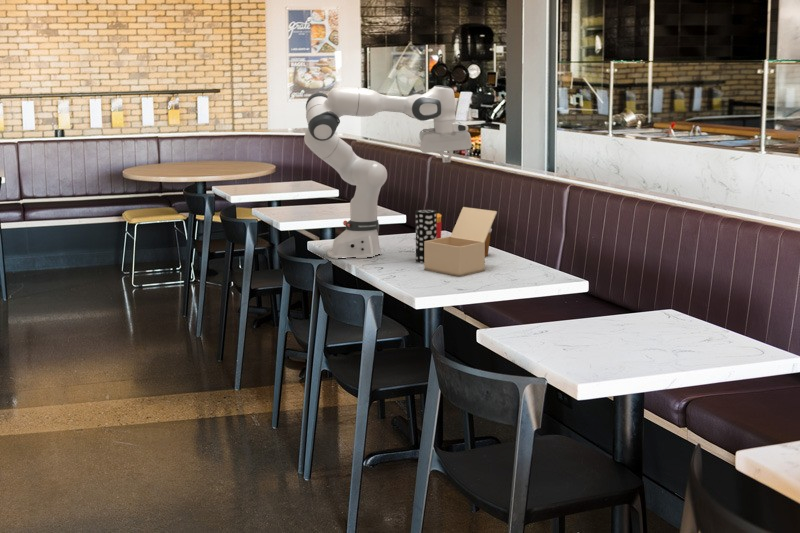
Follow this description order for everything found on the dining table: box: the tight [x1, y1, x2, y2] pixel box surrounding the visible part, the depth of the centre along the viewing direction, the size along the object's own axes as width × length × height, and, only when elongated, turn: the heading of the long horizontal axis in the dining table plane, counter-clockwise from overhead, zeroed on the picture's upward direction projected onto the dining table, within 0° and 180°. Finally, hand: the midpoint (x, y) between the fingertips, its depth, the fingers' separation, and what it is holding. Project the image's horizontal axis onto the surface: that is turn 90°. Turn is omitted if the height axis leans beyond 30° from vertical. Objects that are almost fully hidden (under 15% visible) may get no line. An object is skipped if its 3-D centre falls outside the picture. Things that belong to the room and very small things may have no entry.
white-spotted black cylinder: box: [415, 209, 438, 264], centre depth 383 cm, size 8×8×20 cm
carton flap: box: [450, 206, 498, 242], centre depth 372 cm, size 13×17×1 cm
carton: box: [423, 236, 486, 278], centre depth 366 cm, size 14×18×11 cm
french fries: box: [437, 213, 442, 239], centre depth 423 cm, size 9×4×13 cm, turn 27°
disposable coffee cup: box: [485, 227, 493, 258], centre depth 394 cm, size 10×10×12 cm
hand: (446, 162), depth 383 cm, fingers closed
